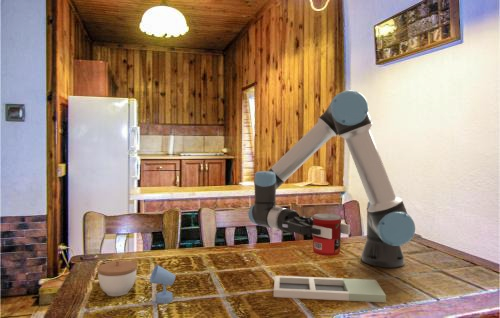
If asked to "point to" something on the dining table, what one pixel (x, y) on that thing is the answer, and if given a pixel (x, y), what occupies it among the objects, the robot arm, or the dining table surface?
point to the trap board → (328, 288)
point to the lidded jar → (117, 277)
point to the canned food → (324, 244)
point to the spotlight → (163, 278)
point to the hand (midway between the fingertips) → (340, 231)
